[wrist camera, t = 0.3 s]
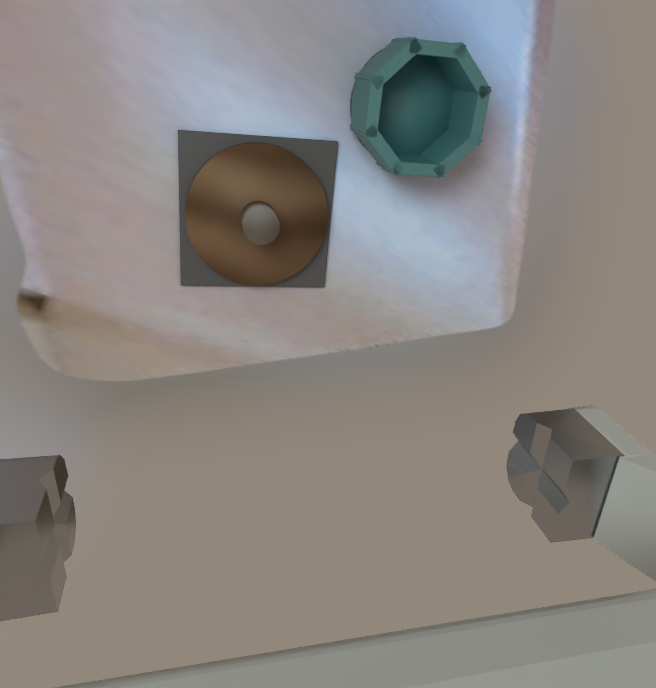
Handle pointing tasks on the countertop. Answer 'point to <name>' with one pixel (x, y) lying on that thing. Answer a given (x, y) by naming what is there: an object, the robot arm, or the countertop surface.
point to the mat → (205, 145)
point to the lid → (256, 213)
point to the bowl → (419, 106)
